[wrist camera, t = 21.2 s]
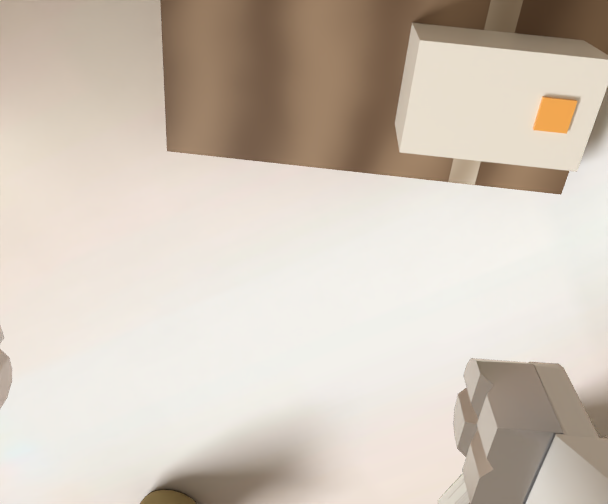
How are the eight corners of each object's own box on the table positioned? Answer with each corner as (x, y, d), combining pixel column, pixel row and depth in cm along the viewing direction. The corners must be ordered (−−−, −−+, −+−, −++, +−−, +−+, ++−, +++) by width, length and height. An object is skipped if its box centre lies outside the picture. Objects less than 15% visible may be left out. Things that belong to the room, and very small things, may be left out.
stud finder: (394, 123, 33) (399, 153, 29) (412, 22, 30) (420, 41, 26) (551, 140, 33) (578, 173, 29) (583, 40, 30) (618, 61, 26)
